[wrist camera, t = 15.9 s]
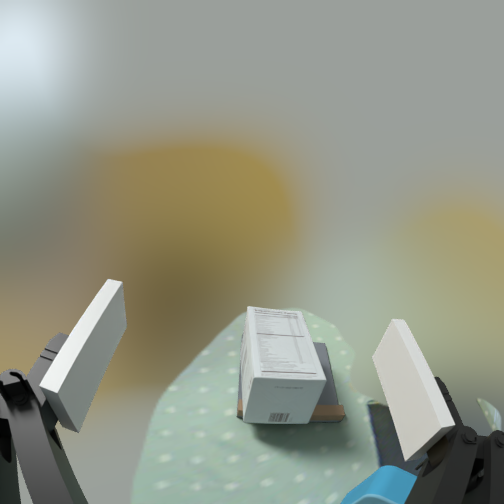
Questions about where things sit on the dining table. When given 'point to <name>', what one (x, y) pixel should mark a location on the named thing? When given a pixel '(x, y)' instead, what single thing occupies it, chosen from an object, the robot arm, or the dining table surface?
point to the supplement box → (279, 368)
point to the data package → (383, 487)
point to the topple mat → (327, 401)
